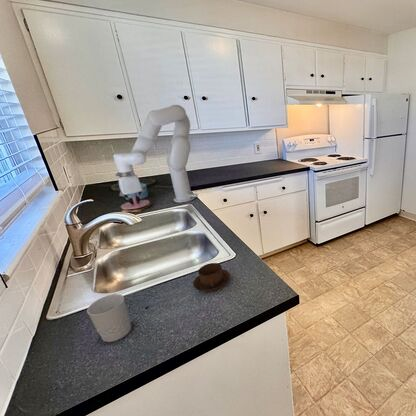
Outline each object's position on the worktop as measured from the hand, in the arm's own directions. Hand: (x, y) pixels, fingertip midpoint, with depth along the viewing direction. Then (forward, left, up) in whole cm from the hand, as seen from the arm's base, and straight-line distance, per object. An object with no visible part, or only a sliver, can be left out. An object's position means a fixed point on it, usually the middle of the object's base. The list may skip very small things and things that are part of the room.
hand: (135, 203), depth 164 cm
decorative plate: (+32, -54, -4) cm, 63 cm away
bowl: (+13, -24, -4) cm, 28 cm away
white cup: (-51, +101, -4) cm, 113 cm away
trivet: (0, 0, -4) cm, 4 cm away
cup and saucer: (-71, +81, -4) cm, 108 cm away
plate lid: (0, 0, -1) cm, 1 cm away
